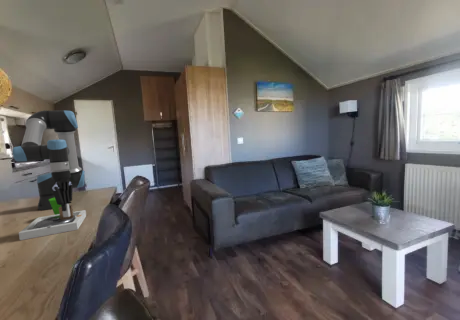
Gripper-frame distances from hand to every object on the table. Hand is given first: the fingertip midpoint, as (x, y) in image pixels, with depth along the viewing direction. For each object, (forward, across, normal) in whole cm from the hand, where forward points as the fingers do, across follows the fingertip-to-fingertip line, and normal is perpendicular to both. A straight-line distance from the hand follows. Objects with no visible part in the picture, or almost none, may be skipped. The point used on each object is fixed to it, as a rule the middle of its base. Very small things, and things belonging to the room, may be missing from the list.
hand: (67, 216), depth 113 cm
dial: (+3, +1, +6) cm, 7 cm away
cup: (+5, +18, +16) cm, 25 cm away
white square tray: (+5, +1, +6) cm, 8 cm away
